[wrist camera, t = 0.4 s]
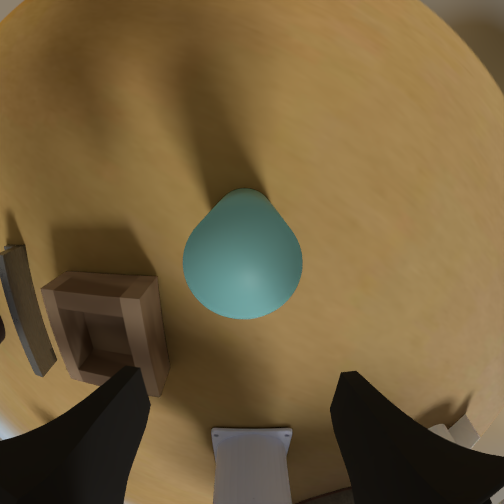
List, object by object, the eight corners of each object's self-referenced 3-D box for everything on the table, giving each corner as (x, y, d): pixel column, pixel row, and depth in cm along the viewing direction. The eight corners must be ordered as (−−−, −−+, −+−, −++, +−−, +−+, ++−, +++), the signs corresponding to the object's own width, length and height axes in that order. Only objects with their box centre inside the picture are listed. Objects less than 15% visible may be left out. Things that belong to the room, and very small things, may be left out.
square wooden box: (170, 367, 20) (160, 397, 16) (88, 354, 20) (71, 378, 16) (157, 276, 18) (139, 299, 14) (66, 271, 17) (40, 288, 14)
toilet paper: (465, 413, 26) (484, 441, 19) (412, 457, 28) (426, 486, 21) (450, 404, 24) (473, 437, 17) (390, 454, 27) (404, 488, 20)
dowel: (272, 246, 17) (296, 319, 9) (215, 245, 17) (186, 317, 9) (275, 189, 16) (306, 208, 8) (215, 187, 16) (180, 205, 8)
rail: (57, 360, 20) (43, 377, 17) (39, 354, 20) (25, 370, 17) (24, 244, 17) (2, 255, 14) (8, 244, 17) (-14, 254, 14)
